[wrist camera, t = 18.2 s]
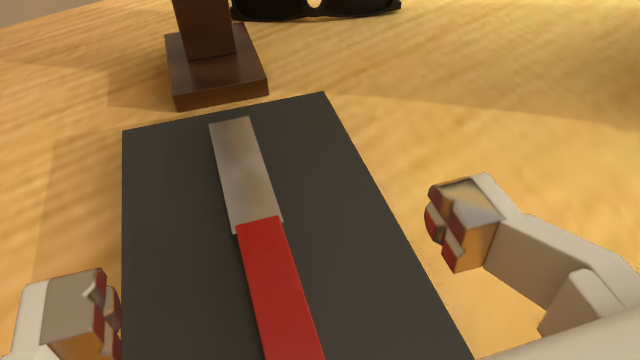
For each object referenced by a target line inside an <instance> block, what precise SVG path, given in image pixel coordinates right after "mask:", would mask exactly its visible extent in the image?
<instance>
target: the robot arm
mask: <svg viewBox="0 0 640 360" xmlns="http://www.w3.org/2000/svg"><path fill="white" fill-rule="evenodd" d="M428 197H429V199H430V200H431V202H430V203H429V204H428V205H427V206H426V207H425V213H424V219H425V225H426V228H427V231H428V233H429V235H430V237H431V238H432V240H433V241H434V242H436V243H438V244H440V245H441V246H442V252H441V255H442V256H443V258H444V260H445V261H446V263H447V264H448V266H449V268H450V269H451V271H452V272H453V274H455V273H459V272H463V271H467V270H471V269H475V268H478V267H482V266H483V268H484V269H485V270H487V271H488V272H489V273H491V274H492V275H494V276H495V277H497V278H498V279H500V280H501V281H503V282H504V283H506V284H507V285H509V286H510V287H512V288H513V289H515V290H516V291H518V292H519V293H521V294H522V295H524V296H525V297H527V298H528V299H530V300H531V301H533V302H534V303H536V304H537V305H539V306H540V307H541V308H543V309H544V310H546V312H545V314H544V316H543V317H542V319H541V321H540V322H539V324H538V327H537V330H538V332H539V333H540V335H541V336H542V338H540V339H537V340H534V341H531V342H528V343H525V344H522V345H519V346H516V347H513V348H510V349H507V350H504V351H501V352H498V353H495V354H492V355H489V356H486V357H483V358H480V359H477V360H640V275H639V274H638V273H637V272H636V271H635V270H634V269H633V268H632V267H631V266H630V265H629V264H628V263H627V262H626V261H625V259H624V258H623V257H622V256H620V255H618V254H616V253H614V252H611V251H609V250H607V249H605V248H603V247H601V246H598V245H596V244H594V243H592V242H590V241H587V240H585V239H583V238H581V237H579V236H577V235H574V234H572V233H570V232H568V231H566V230H563V229H561V228H559V227H557V226H555V225H553V224H550V223H548V222H546V221H544V220H542V219H539V218H537V217H535V216H533V215H531V214H525V215H524V214H523V213H522V212H521V211H520V210H519V209H518V207H517V206H516V205H515V204H514V203H513V201H512V200H511V199H510V198H509V197H508V196H507V194H506V193H505V192H504V191H503V190H502V189H501V187H500V186H499V185H498V184H497V183H496V181H495V180H494V179H493V178H492V177H491V176H490V175H489V174H488V173H486V172H483V173H479V174H475V175H471V176H467V177H462V178H458V179H454V180H450V181H446V182H442V183H439V184H435V185H432V186H431V187H430V188H429V192H428ZM106 283H107V276H106V274H105V273H104V271H103V270H102V268H95V269H91V270H86V271H82V272H77V273H73V274H68V275H63V276H59V277H54V278H51V279H46V280H42V281H38V282H33V283H29V284H26V286H25V287H24V289H23V291H22V293H21V298H20V303H19V308H18V314H17V319H16V324H15V329H14V334H13V340H12V345H11V350H10V354H7V355H4V356H2V357H1V358H0V360H122V342H121V340H120V339H119V337H118V336H117V332H118V331H119V329H120V328H121V326H122V310H121V304H120V300H119V297H118V294H117V292H116V290H115V289H114V287H112V286H109V285H107V284H106Z"/></svg>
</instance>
